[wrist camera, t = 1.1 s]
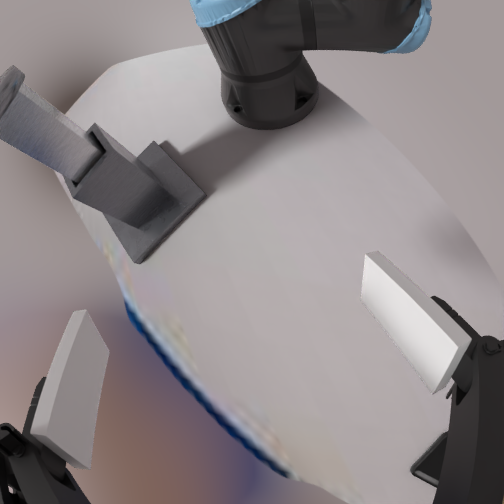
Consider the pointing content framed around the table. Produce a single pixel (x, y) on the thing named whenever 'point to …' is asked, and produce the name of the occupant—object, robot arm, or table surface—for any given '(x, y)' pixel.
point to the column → (44, 130)
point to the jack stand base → (137, 193)
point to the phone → (431, 462)
